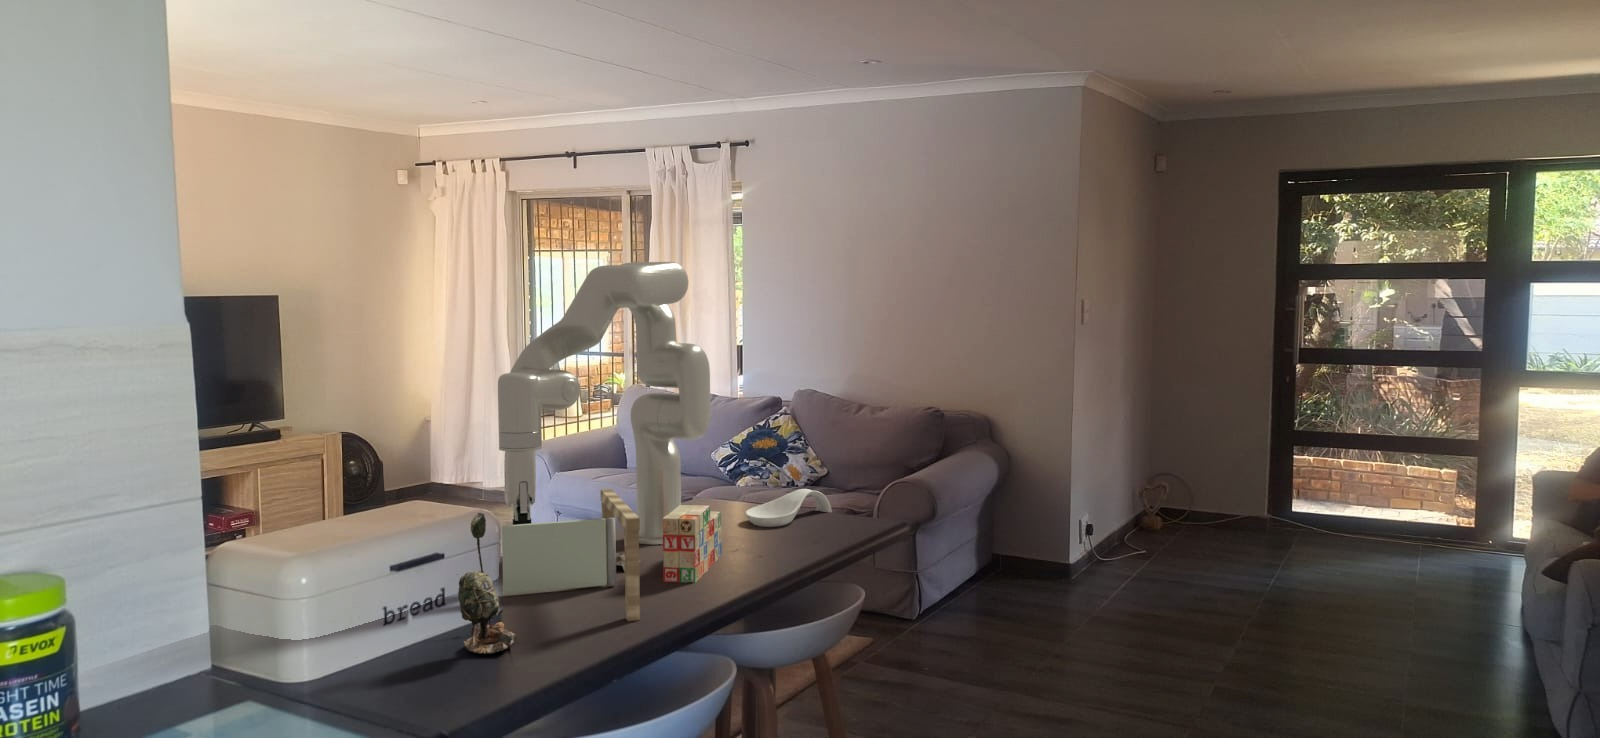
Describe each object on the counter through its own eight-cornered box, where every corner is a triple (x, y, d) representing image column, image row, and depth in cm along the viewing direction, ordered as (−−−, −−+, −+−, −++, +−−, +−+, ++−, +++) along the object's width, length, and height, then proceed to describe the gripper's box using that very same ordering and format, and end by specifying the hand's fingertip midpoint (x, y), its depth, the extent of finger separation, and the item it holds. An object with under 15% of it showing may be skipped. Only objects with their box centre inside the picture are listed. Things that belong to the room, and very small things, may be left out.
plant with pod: (440, 656, 160) (437, 521, 158) (484, 633, 170) (481, 507, 169) (489, 661, 157) (485, 525, 156) (530, 637, 168) (527, 509, 167)
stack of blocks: (692, 555, 221) (691, 495, 220) (722, 556, 220) (721, 496, 219) (662, 583, 200) (662, 517, 199) (695, 584, 199) (695, 518, 198)
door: (615, 582, 198) (614, 517, 197) (616, 584, 197) (615, 519, 196) (503, 592, 192) (501, 525, 191) (503, 594, 190) (502, 527, 190)
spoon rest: (770, 535, 240) (770, 502, 240) (734, 527, 248) (734, 496, 248) (842, 518, 257) (842, 488, 257) (806, 512, 265) (806, 483, 265)
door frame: (602, 580, 202) (600, 489, 201) (612, 579, 202) (611, 488, 201) (628, 623, 175) (627, 518, 174) (641, 621, 176) (639, 518, 175)
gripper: (496, 436, 203) (498, 534, 204) (501, 447, 189) (503, 551, 190) (537, 435, 205) (539, 531, 206) (545, 445, 191) (547, 548, 192)
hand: (522, 540), depth 198 cm, fingers closed
